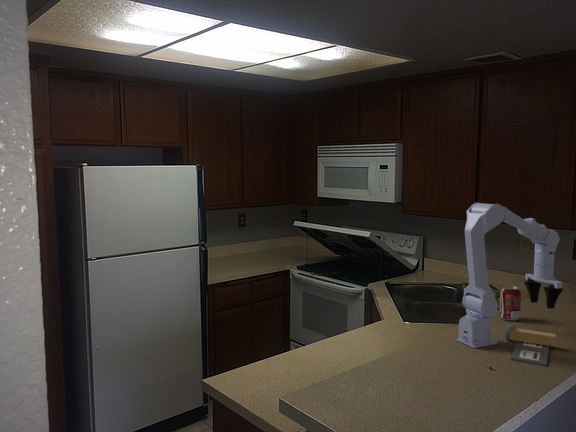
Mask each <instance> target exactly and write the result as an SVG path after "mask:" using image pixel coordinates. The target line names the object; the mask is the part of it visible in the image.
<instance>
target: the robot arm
mask: <svg viewBox="0 0 576 432" xmlns="http://www.w3.org/2000/svg"><path fill="white" fill-rule="evenodd" d="M502 222H503V223H504V224H505V223H506V224H507V225H510V226H512V227H514V228H516V229H517V232H518V234H520V235H521V236H523V237H525V238H527V239H529V240H530V241H531V244H533V245H534V258H533V259H534V261H533V262H534V263H533V274H532V273H525V280H526V281H524V282H523V283H524V285H525V287H526V290H527V292H528V296H529V297H528V298H529V300H530V303H531V304H533V303H536V304H537V303H538V302H539V297H540V296H539V294H540V289H541V286H542V284H543V285H545V286H543V289H544V292H545V299H546V301H545V302H546V308H547V309H555V306H556V304H557V300H558V298H559V296H560V295H561V294H562V292H563V290H564V288H563V281H559V280H557V278H556V277H554V268H555V252H556V251H557V247H558V244H559V242H560V240H561V239H560V237H559V234H558V232H557V231H556V230H555V229H551V228H547V227H546V225H545V224H540V223H538V222H537V221H536V219H535V218H532V217H529V218H524V219H523V218H522V217H520V216H519V215H517V214H516V213H513V211H512V210H509V209H508V208H507V207H506V206H503V205H501V204H499V203H482V202H474V203H473V204H471V206H470V207H469V208H468V209H467V210H466V223H465V227H464V240H465V250H466V251H465V252H466V253H465V254H466V263H467V272H468V273H467V275H468V276H467V277H468V285H467V286H466V287H464V288H463V297H462V306H463V307H464V309H465V313H466V314H465V315H464V316H462V317H461V318H460V319H459V322H458V338H456V341H458V342H459V343H462V344H465V345H467V346H469V347H471V348H474V349H478V348H483V347H488V346H493V345H498V342H497V341H495V340H492V323H493V322H492V318H494V315H495V314H496V313H497V311H498V309H499V308H498V307H499V303H498V301H497V299H496V297H495V292H494V290H493V289H492V288H491V287H490V285H489V280H488V279H489V278H488V267H487V255H486V242H485V235H486V234H487V233H488V232H490V231H491V230H492V229H494V228H496V227H497V226H499V225H500V224H501V223H502Z"/></svg>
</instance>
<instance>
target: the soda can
mask: <svg viewBox="0 0 576 432" xmlns="http://www.w3.org/2000/svg"><path fill="white" fill-rule="evenodd" d="M521 296H522V292H521V291H520V287H518V286H515V285H503V286H502V288H501V290H500V298H499V299H500V300H499V302H500V305H499V306H500V307H499V317H500V318H501V319H502V320H504V321H509V322H517V321H519V320H520V319H521V301H522V297H521Z"/></svg>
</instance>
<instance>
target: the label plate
mask: <svg viewBox="0 0 576 432" xmlns="http://www.w3.org/2000/svg"><path fill="white" fill-rule="evenodd" d="M502 341H503V342H504V343H506V344H512V345H514V344H515V345H514V349H513V351H512V354H511V356H510V361H515V362H522V363H527V364H533V365H538V366H545V367H547V366H548V359H549V354H550V353H549V352H550V347H551V346H547V345H541V344H534V343H528V342H522V341H508V340H506V339H505V338H503V340H502Z"/></svg>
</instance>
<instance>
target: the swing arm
mask: <svg viewBox="0 0 576 432" xmlns="http://www.w3.org/2000/svg"><path fill="white" fill-rule="evenodd" d="M556 336H557V334H556V333H551V332H543V331H537V330H531V329H524V328H516V325H513V324H506V325H505V337H504V339H506V340H508V341H522V342H528V343H534V344H541V345H547V346H550V347H556V341H557V340H556Z"/></svg>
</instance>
